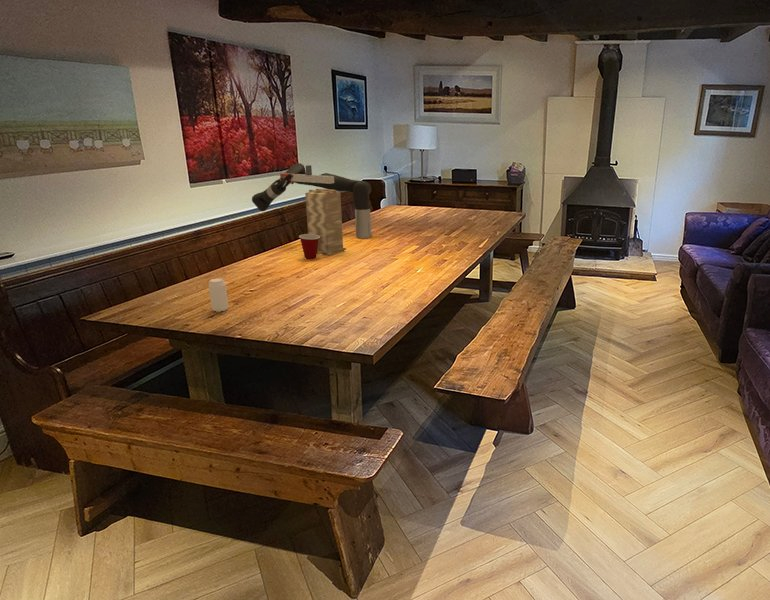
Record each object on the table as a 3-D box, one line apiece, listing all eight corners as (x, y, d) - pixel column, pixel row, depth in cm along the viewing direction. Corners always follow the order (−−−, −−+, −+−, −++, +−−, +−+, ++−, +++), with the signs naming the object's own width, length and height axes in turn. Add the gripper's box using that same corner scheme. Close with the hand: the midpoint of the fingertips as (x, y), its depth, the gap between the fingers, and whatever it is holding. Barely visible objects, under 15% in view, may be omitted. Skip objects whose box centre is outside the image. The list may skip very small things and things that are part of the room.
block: (280, 180, 295) (279, 164, 293) (285, 180, 298) (284, 164, 296) (329, 184, 275) (328, 166, 272) (334, 183, 278) (333, 166, 275)
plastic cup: (317, 261, 273) (316, 237, 269) (297, 260, 275) (295, 237, 271) (324, 256, 283) (322, 233, 279) (304, 255, 285) (303, 233, 281)
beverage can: (208, 312, 202) (204, 282, 198) (216, 307, 208) (212, 277, 204) (224, 313, 201) (220, 282, 197) (231, 307, 207) (227, 277, 203)
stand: (306, 252, 292) (302, 190, 281) (324, 247, 302) (320, 187, 292) (328, 255, 282) (325, 192, 272) (345, 250, 293) (342, 189, 283)
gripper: (263, 184, 297) (281, 169, 286) (282, 181, 308) (300, 167, 296) (269, 196, 297) (287, 182, 286) (288, 193, 308) (305, 179, 296)
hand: (293, 174), depth 291 cm, fingers closed on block, 4 cm apart
